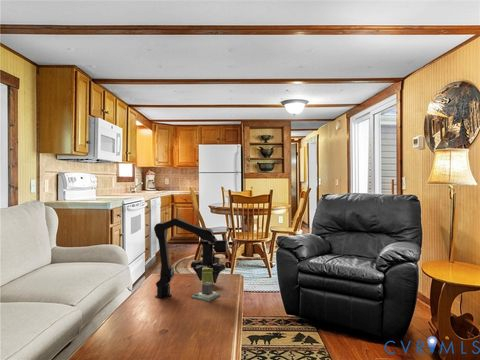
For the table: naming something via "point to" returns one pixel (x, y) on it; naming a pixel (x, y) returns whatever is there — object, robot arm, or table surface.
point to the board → (205, 296)
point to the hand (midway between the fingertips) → (207, 282)
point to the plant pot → (207, 275)
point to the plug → (207, 288)
